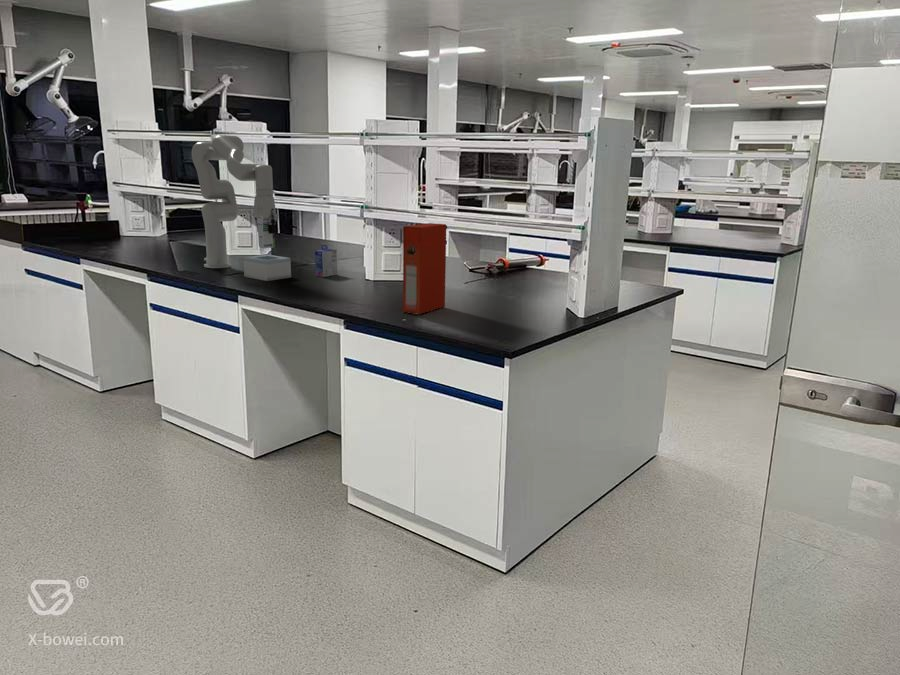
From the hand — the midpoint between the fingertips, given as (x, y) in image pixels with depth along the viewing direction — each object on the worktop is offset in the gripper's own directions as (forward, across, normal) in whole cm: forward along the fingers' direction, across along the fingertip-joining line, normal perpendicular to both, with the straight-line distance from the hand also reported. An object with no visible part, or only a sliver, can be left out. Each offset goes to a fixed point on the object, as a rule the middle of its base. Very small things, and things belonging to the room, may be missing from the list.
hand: (266, 232), depth 312 cm
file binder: (+21, +96, -6) cm, 98 cm away
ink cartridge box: (+21, +16, +22) cm, 34 cm away
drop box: (+21, 0, 0) cm, 21 cm away
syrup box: (+7, 0, 0) cm, 7 cm away
